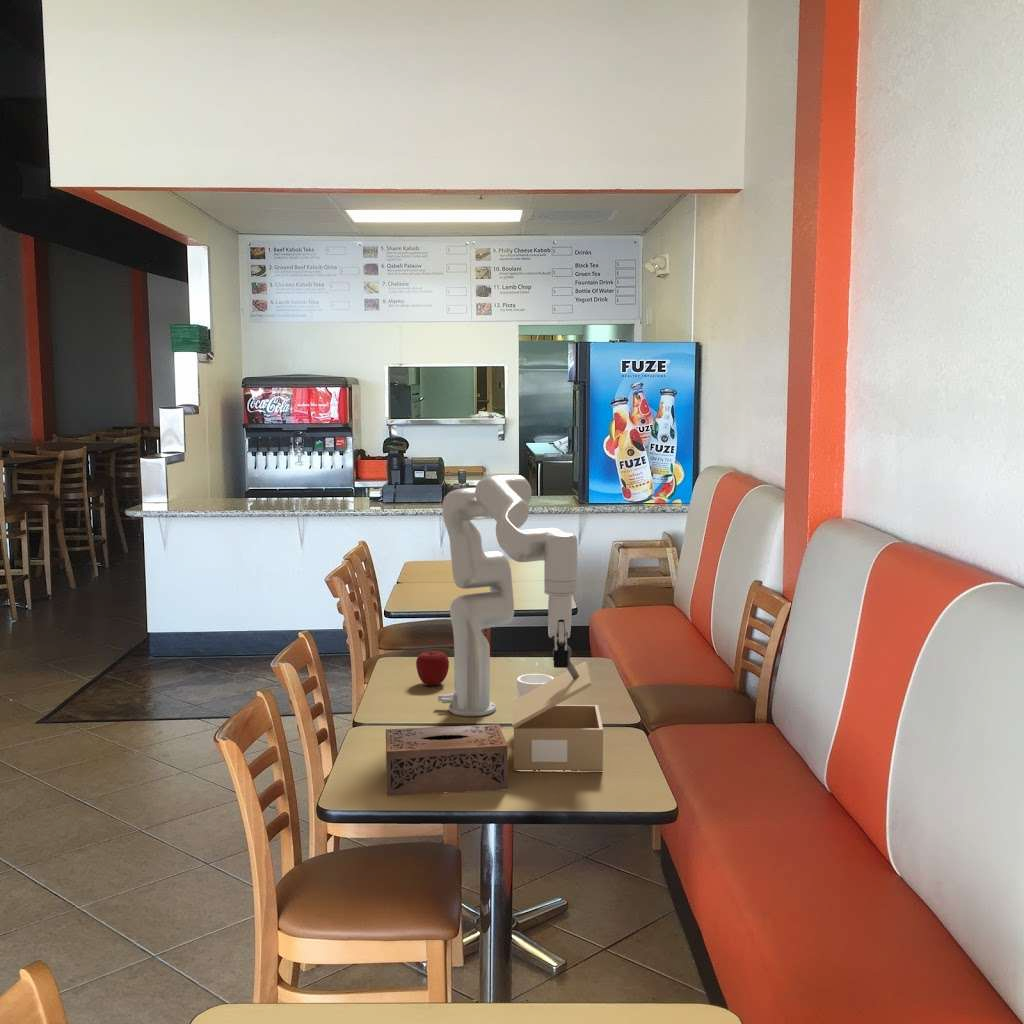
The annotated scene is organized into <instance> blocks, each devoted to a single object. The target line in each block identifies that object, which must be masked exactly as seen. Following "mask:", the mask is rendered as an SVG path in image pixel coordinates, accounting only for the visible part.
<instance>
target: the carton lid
mask: <svg viewBox="0 0 1024 1024" xmlns="http://www.w3.org/2000/svg"><path fill="white" fill-rule="evenodd" d="M554 650H555V647H554V649H553V648H552V658H553V657H554ZM567 650H568V667H567V668H566V669H567V670H566V671H565V672H563V673H561V674H559V675H558V676H556V677H553V678H554V679H552V680H550V681H548V682H547V683H545V684H543V685H541V686H539V687H537V688H536V689H534V690H532V691H530V692H528V693H527V694H525V695H523V696H521V697H519V696H518V698H516V699H514V700H513V702H512V703H513V707H512V718H511V719H512V721H511V726H512V728H513V729H514V728H516V727H517V726H519V725H521V724H523V723H525V722H526V721H528V720H530V719H532V718H534V717H536V716H537V715H539V714H541V713H543V712H545V711H546V710H548V709H550V708H552V707H554V706H555V705H560V704H561V703H562V702H564V701H565V702H566V700H568V699H570V698H572V697H574V696H575V695H577V694H579V693H580V692H582V691H585V690H587V689H588V688H590V687H592V686H593V685H592V680H591V675H590V671H589V666H588V662H587V661H586V660H585V661H583V662H581V663H579V664H577V665H576V666H574V664H573V662H572V660H571V657H572V655H573V654H572V651H573V650H572V648H571V647H570V646H569V645H568V644H567Z"/></svg>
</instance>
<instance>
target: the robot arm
mask: <svg viewBox="0 0 1024 1024" xmlns="http://www.w3.org/2000/svg"><path fill="white" fill-rule="evenodd" d="M531 500H532V487H531V485H530V483H529V481H528V479H526V478H525V477H524V476H522V475H519V474H507V475H505V474H502V475H489V476H486V477H483V478H482V479H479V480H478V482H477V483H476V485H475V486H474V487H463V488H458V489H454V490H451V491H449V492H448V493H447V494H446V495H445V496H444V498H443V502H442V509H441V510H442V511H441V512H442V513H441V514H442V518H443V522H444V525H445V527H446V532H447V534H448V539H449V548H450V549H449V550H450V559H451V560H450V561H451V570H452V578H453V579H452V580H453V582H454V584H455V586H457V588H459V589H461V590H470V589H481V588H482V589H483V588H489V591H486V592H485V591H484V592H474V593H466V594H463V595H459V596H457V597H456V598H455V599H453V601H452V602H451V604H450V608H449V615H450V619H451V620H450V621H451V625H452V626H451V627H452V632H453V655H454V657H453V658H454V661H453V662H454V667H453V669H454V674H453V675H454V677H453V678H454V690H453V692H451V693H449V694H444V693H443V694H442V693H439V694H437V695H438V696H437V701H438V702H441V704H449V705H448V710H449V712H450V713H452V714H453V715H456V716H459V717H460V716H461V717H482V716H487V715H490V714H492V713H494V712H495V711H496V709H497V705H496V704H495V702H493V701H491V673H490V671H491V670H490V669H491V667H490V666H491V664H490V663H491V656H490V655H491V654H490V652H491V650H490V649H491V648H490V643H489V641H488V639H487V637H486V636H485V635H484V634H483V632H482V630H483V629H484V630H485V629H490V628H497V627H503V626H506V625H508V624H510V623H511V622H512V621H513V618H514V616H515V602H514V589H513V580H512V579H513V578H512V569H511V564H510V561H509V560H508V557H509V558H510V559H512V560H513V561H515V562H518V563H531V562H540V561H544V563H543V564H544V575H543V577H544V587H543V589H544V594H546V595H547V596H548V601H547V602H548V603H547V604H548V605H547V606H548V607H547V608H548V609H547V612H548V613H547V614H548V615H547V621H548V622H547V626H548V628H547V629H548V633H547V634H548V637H549V638H550V639H553V645H552V647H553V648H552V650H553V649H554V647H555V650H554V657H553V656H552V661H553V668H556V669H561V668H563V669H565V668H566V669H567V667H568V650H567V645H568V638H570V637H571V629H572V628H571V627H572V615H573V613H572V612H573V611H572V610H573V608H572V607H573V603H572V602H573V596H575V595H576V594H578V538H577V536H576V535H575V534H574V533H572V532H564V531H563V530H561V529H559V528H555V527H545V528H530V529H528V528H527V529H520V528H521V527H522V526H523V525H524V524H525V523H526V521H527V520H528V519H529V515H530V508H529V505H528V504H529V503H530V501H531ZM493 519H494V520H495V522H496V524H495V536H496V540H497V543H498V545H499V547H500V548H501V549H502V551H504V553H505V554H506V555H507V556H508V557H507V556H506V555H505V554H504V553H503V552H502V551H497V550H489V551H488V550H487V551H484V550H483V542H482V541H483V540H482V536H481V532H480V531H479V530H478V528H477V526H476V525H475V524H474V523H473V522H472V521H474V520H475V521H476V520H477V521H478V520H493Z"/></svg>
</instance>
